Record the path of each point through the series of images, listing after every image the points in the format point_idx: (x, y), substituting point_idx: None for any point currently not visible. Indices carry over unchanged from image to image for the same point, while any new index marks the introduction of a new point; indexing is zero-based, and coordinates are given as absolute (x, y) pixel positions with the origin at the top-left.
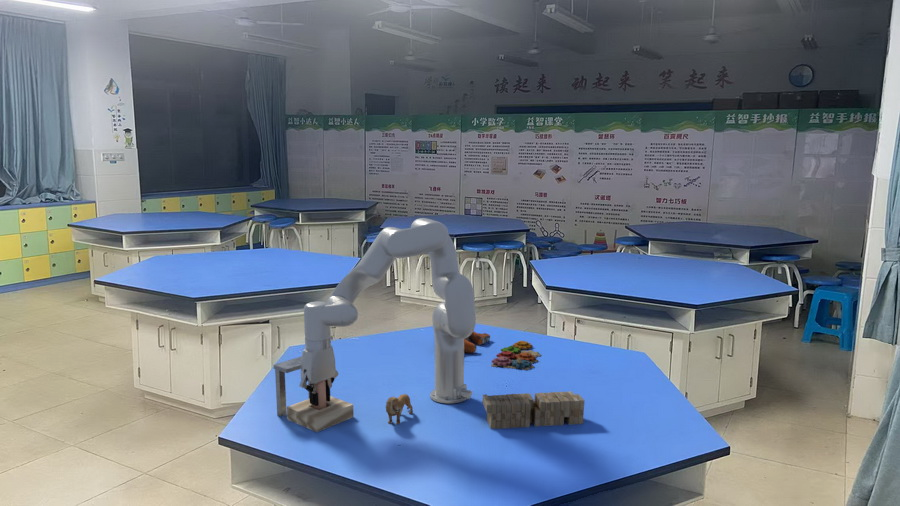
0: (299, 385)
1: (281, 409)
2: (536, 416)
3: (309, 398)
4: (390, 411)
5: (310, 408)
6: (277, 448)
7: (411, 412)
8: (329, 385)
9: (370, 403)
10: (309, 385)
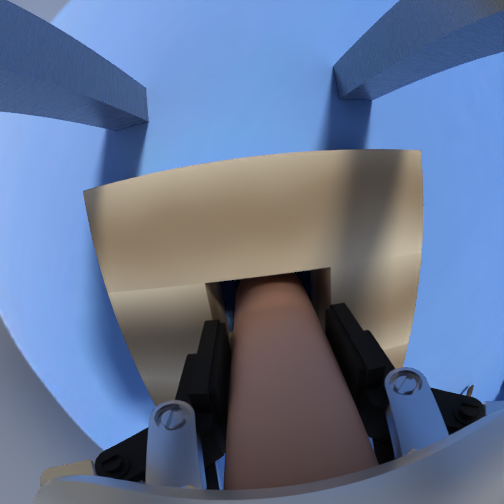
0: (42, 475)
1: (98, 124)
2: None
3: (345, 61)
4: None
5: (197, 327)
6: (49, 373)
7: None
8: (383, 440)
9: (482, 286)
10: (164, 469)
